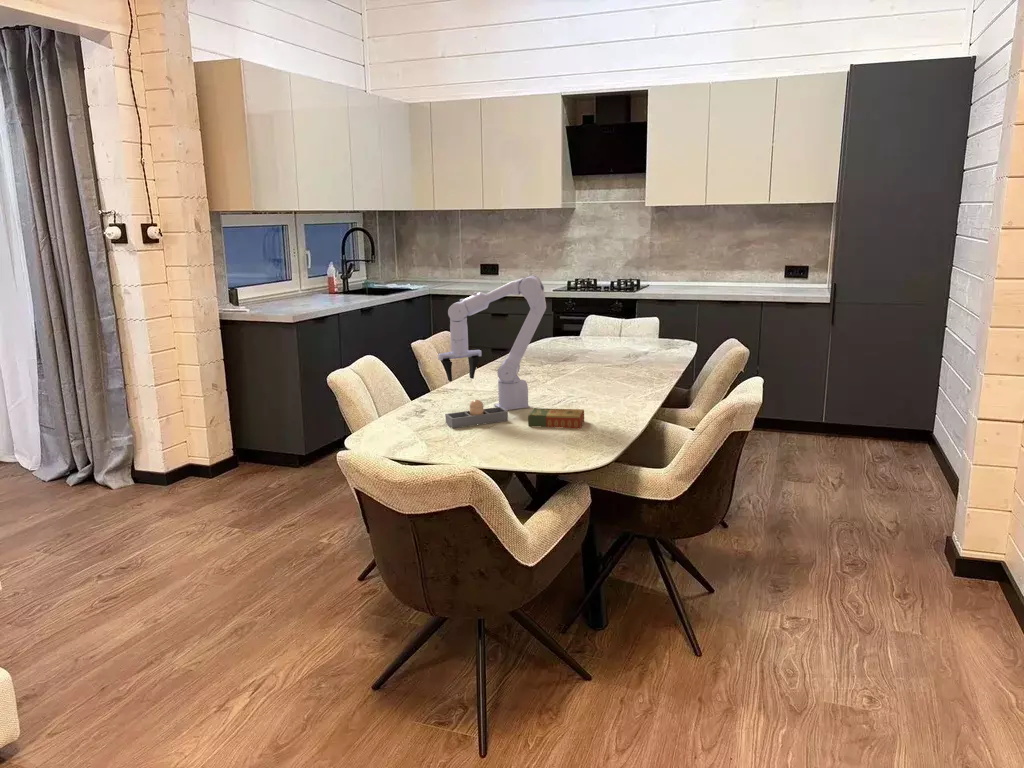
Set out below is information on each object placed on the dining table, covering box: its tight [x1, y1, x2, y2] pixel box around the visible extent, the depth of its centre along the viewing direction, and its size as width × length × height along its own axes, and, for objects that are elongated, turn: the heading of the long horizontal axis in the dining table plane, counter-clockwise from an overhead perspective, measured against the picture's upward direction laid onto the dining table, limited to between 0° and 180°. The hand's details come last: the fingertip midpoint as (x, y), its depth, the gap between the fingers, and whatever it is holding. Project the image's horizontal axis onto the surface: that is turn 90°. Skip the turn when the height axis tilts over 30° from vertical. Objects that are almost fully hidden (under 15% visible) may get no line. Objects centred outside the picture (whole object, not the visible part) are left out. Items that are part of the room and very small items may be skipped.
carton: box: [527, 407, 585, 430], centre depth 228 cm, size 8×16×4 cm, turn 77°
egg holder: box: [445, 406, 509, 429], centre depth 231 cm, size 18×6×3 cm, turn 113°
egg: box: [469, 399, 484, 416], centre depth 231 cm, size 4×4×6 cm
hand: (460, 379), depth 248 cm, fingers open, 7 cm apart
